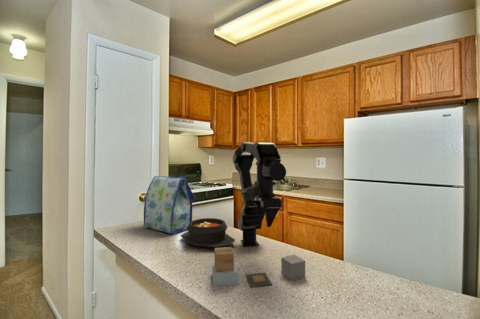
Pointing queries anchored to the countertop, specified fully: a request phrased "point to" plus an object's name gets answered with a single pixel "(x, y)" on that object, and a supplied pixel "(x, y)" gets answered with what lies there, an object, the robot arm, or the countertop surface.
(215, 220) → the casserole
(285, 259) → the grey cube
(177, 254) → the countertop surface
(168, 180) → the lunch bag
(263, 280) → the mat
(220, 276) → the base block
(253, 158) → the robot arm
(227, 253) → the walnut cube
